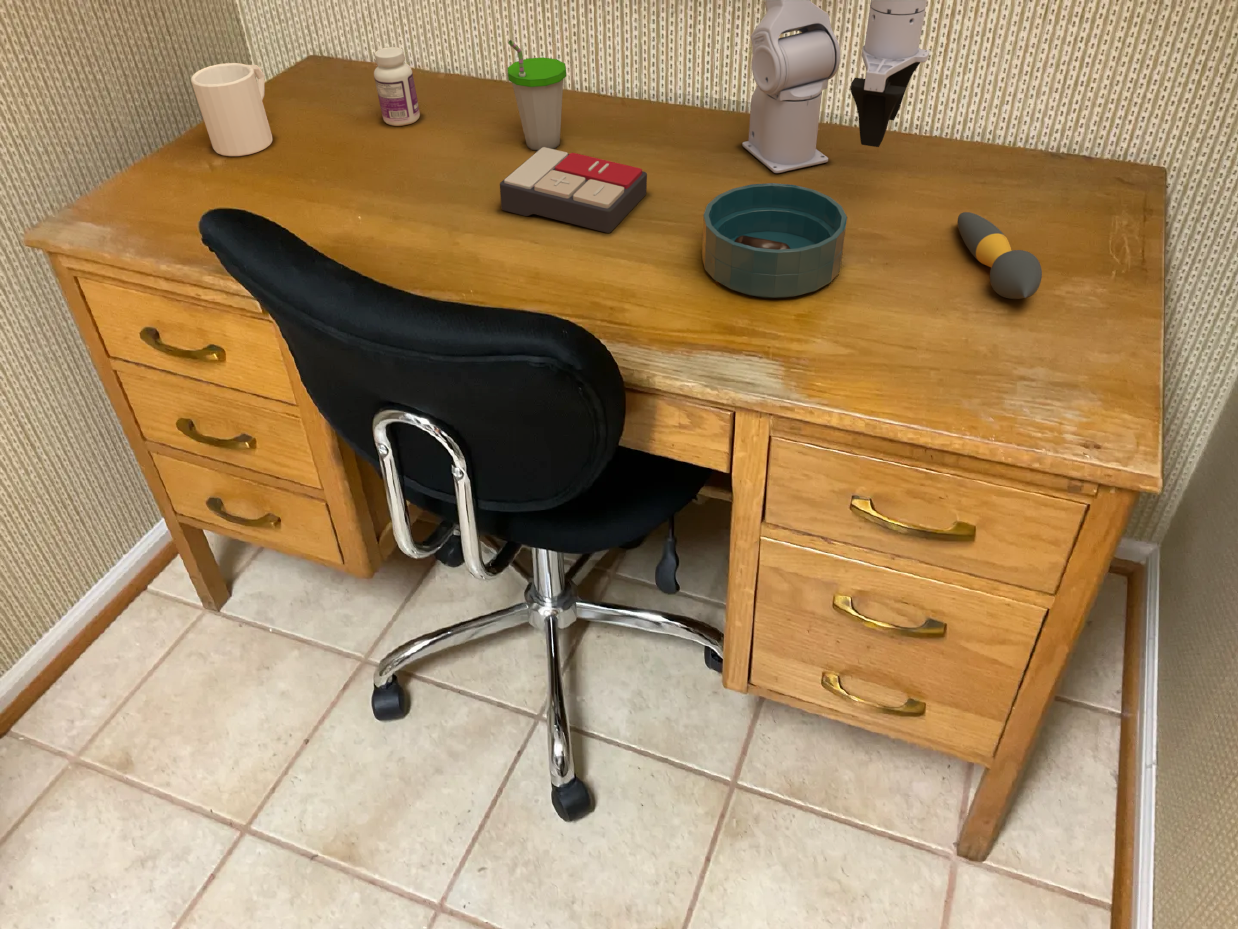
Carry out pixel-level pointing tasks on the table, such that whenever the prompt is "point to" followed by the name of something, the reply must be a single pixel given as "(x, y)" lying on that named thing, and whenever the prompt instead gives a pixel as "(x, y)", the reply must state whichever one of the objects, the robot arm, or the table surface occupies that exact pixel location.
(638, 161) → the table surface
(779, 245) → the brush
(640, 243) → the table surface
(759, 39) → the robot arm
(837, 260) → the bowl
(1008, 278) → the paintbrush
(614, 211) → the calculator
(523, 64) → the cup
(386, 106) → the pill bottle
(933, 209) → the table surface
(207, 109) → the mug
